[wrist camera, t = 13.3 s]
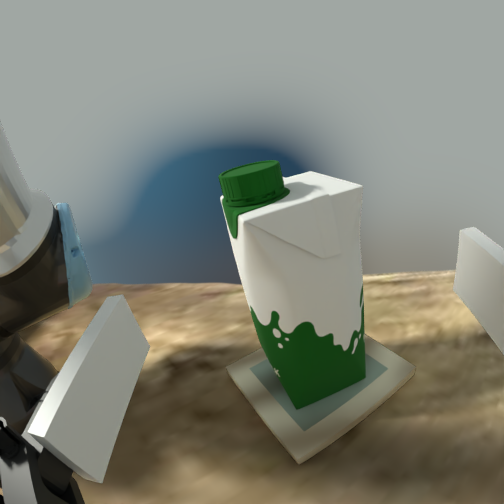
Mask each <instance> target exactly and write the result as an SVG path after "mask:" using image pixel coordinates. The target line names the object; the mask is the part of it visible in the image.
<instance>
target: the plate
mask: <svg viewBox="0 0 504 504" xmlns="http://www.w3.org/2000/svg"><path fill="white" fill-rule="evenodd" d="M365 363H366V378H365V379H363V380H361V381H359V382H357V383H355V384H353V385H351V386H349V387H347V388H345V389H343V390H341V391H339V392H337V393H335V394H332V395H330V396H328V397H326V398H324V399H321V400H319V401H317V402H315V403H312V404H310V405H308V406H305V407H303V408H301V409H298V410H296V408H295V407H294V405H293V403H292V401H291V400H290V398H289V396H288V395H287V393H286V391H285V389H284V388H283V386H282V384H281V382H280V381H279V379H278V377H277V375H276V374H275V372H274V370H273V368H272V366H271V365H270V363H269V361H268V359H267V357H266V355H265V353H264V350H263V348H260V349H258V350H256V351H255V352H253V353H251V354H249V355H247V356H245V357H243V358H241V359H240V360H238V361H236V362H234V363H232V364H230V365H228V366H226V370H227V372H228V374H229V375H230V377H231V378H232V380H233V381H234V382H235V384H236V385H237V387H238V388H239V389H240V391H241V392H242V394H243V395H244V396H245V398H246V399H247V400H248V402H249V403H250V404H251V406H252V407H253V408H254V410H255V411H256V412H257V414H258V415H259V416H260V418H261V419H262V420H263V421H264V423H265V424H266V425H267V427H268V428H269V429H270V430H271V432H272V433H273V434H274V435H275V437H276V438H277V439H278V440H279V442H280V443H281V444H282V445H283V447H284V448H285V449H286V450H287V451H288V453H289V454H290V455H291V456H292V457H293V459H294V460H295V461H296V462H297V463H298V465H300V464H301V463H303V462H304V461H306V460H308V459H309V458H311V457H312V456H314V455H315V454H317V453H318V452H320V451H321V450H323V449H324V448H326V447H327V446H329V445H330V444H331V443H333V442H334V441H336V440H337V439H338V438H340V437H341V436H343V435H344V434H345V433H347V432H348V431H349V430H351V429H352V428H353V427H355V426H356V425H357V424H358V423H360V422H361V421H362V420H363V419H365V418H366V417H367V416H368V415H370V414H371V413H372V412H373V411H375V410H376V409H377V408H378V407H379V406H380V405H382V404H383V403H384V402H385V401H386V400H387V399H389V398H390V397H391V396H392V395H393V394H394V393H395V392H396V391H397V390H399V389H400V388H401V387H402V386H403V385H404V384H405V383H406V382H407V381H408V380H409V379H410V378H411V377H412V376H413V375H414V374H415V369H416V366H414V365H413V364H411V363H410V362H408V361H406V360H405V359H403V358H402V357H400V356H398V355H397V354H395V353H394V352H392V351H391V350H389V349H387V348H386V347H384V346H383V345H381V344H380V343H378V342H376V341H375V340H373V339H372V338H370V337H369V336H367V335H365Z"/></svg>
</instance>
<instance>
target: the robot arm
mask: <svg viewBox="0 0 504 504" xmlns="http://www.w3.org/2000/svg"><path fill="white" fill-rule="evenodd" d="M453 290H454V292H455V293H456V294H457V295H458V296H459V298H460V299H461V300H462V301H463V302H464V304H465V305H466V306H467V307H468V309H469V310H470V311H471V312H472V314H473V315H474V316H475V317H476V319H477V320H478V321H479V322H480V324H481V325H482V326H483V328H484V329H485V330H486V332H487V333H488V334H489V336H490V337H491V338H492V340H493V341H494V342H495V344H496V345H497V347H498V348H499V349H500V351H501V352H502V354H503V355H504V249H503V248H502V247H500V246H499V245H498V244H497V243H495V242H494V241H493V240H491V239H490V238H489V237H487V236H486V235H485V234H483V233H482V232H481V231H479V230H478V229H476V228H475V227H471V228H467V229H462V230H460V235H459V247H458V257H457V265H456V273H455V280H454V287H453ZM91 291H92V280H91V277H90V273H89V269H88V266H87V263H86V260H85V256H84V253H83V250H82V246H81V243H80V240H79V236H78V233H77V229H76V226H75V223H74V219H73V216H72V212H71V209H70V207H69V205H68V204H67V203H61V204H60V203H58V204H56V205H55V207H54V206H53V204H52V202H51V200H50V198H49V197H48V195H47V194H46V193H44V192H43V191H41V190H38V189H31V188H30V189H29V187H28V185H27V183H26V181H25V179H24V177H23V175H22V172H21V170H20V168H19V166H18V164H17V161H16V159H15V157H14V154H13V152H12V150H11V147H10V145H9V142H8V140H7V137H6V135H5V132H4V129H3V127H2V124H1V121H0V488H2V490H3V496H2V495H0V504H85V503H84V500H83V498H82V495H81V492H80V490H79V487H78V484H77V482H76V480H75V479H74V478H73V477H72V473H73V471H74V472H76V473H77V474H78V475H80V476H81V477H83V478H84V479H87V480H90V481H94V482H98V483H103V479H104V476H105V473H106V469H107V466H108V463H109V460H110V457H111V454H112V451H113V447H114V444H115V441H116V438H117V435H118V432H119V430H120V427H121V424H122V421H123V418H124V415H125V412H126V409H127V407H128V404H129V401H130V398H131V396H132V393H133V390H134V387H135V385H136V382H137V379H138V377H139V374H140V371H141V369H142V366H143V364H144V361H145V358H146V356H147V353H148V351H149V348H150V345H149V344H148V342H147V340H146V338H145V336H144V334H143V333H142V331H141V329H140V327H139V325H138V323H137V321H136V319H135V317H134V316H133V314H132V312H131V310H130V308H129V306H128V304H127V302H126V300H125V298H124V296H123V295H117V296H110V297H107V299H106V300H105V302H104V303H103V305H102V306H101V308H100V309H99V311H98V312H97V314H96V315H95V317H94V318H93V320H92V321H91V323H90V324H89V326H88V327H87V329H86V330H85V332H84V333H83V335H82V337H81V338H80V340H79V341H78V343H77V344H76V346H75V348H74V349H73V351H72V353H71V354H70V356H69V357H68V359H67V361H66V362H65V364H64V366H63V368H62V369H61V371H60V372H59V373H58V372H57V371H56V369H55V368H54V367H53V365H52V364H51V363H50V362H49V361H48V360H47V359H45V358H44V357H43V356H41V355H40V354H39V353H38V352H37V351H35V350H34V349H33V348H32V347H30V346H29V345H28V344H27V343H26V342H24V341H23V340H22V338H21V337H20V335H19V334H18V332H19V331H21V330H23V329H25V328H27V327H29V326H31V325H34V324H36V323H38V322H40V321H42V320H44V319H46V318H49V317H51V316H53V315H55V314H57V313H59V312H61V311H64V310H66V309H70V308H72V306H73V305H74V304H76V303H78V302H80V301H81V300H83V299H85V298H87V297H88V296H89V295H90V293H91Z"/></svg>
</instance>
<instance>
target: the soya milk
mask: <svg viewBox="0 0 504 504" xmlns="http://www.w3.org/2000/svg"><path fill="white" fill-rule="evenodd" d="M219 181H220V185H221V189H222V193H223V196H221V202H222V207H223V211H224V215H225V219H226V223H227V227H228V232H229V236H230V240H231V244H232V248H233V252H234V255H235V259H236V263H237V267H238V271H239V274H240V278H241V281H242V285H243V288H244V292H245V295H246V298H247V302H248V305H249V308H250V312H251V315H252V318H253V322H254V325H255V328H256V332H257V335H258V338H259V341H260V343H261V346H262V348H263V350H264V353H265V355H266V357H267V359H268V361H269V363H270V365H271V366H272V368H273V370H274V372H275V374H276V375H277V377H278V379H279V381H280V382H281V384H282V386H283V388H284V389H285V391H286V393H287V395H288V396H289V398H290V400H291V401H292V403H293V405H294V407H295V408H296V410H298V409H301V408H303V407H305V406H308V405H310V404H312V403H315V402H317V401H319V400H321V399H324V398H326V397H328V396H330V395H332V394H335V393H337V392H339V391H341V390H343V389H345V388H347V387H349V386H351V385H353V384H355V383H357V382H359V381H361V380H363V379H365V378H366V363H365V332H364V299H363V277H362V261H361V249H360V222H361V208H362V191H363V186H361V185H359V184H355V183H351V182H348V181H344V180H341V179H338V178H334V177H330V176H327V175H323V174H319V173H315V172H311V171H310V172H306V173H302V174H299V175H295V176H291V177H288V178H284V177H282V173H281V168H280V164H279V162H278V161H275V160H269V161H261V162H255V163H250V164H246V165H242V166H239V167H235V168H232V169H230V170H227V171H225V172H223V173H221V174H220V175H219Z"/></svg>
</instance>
